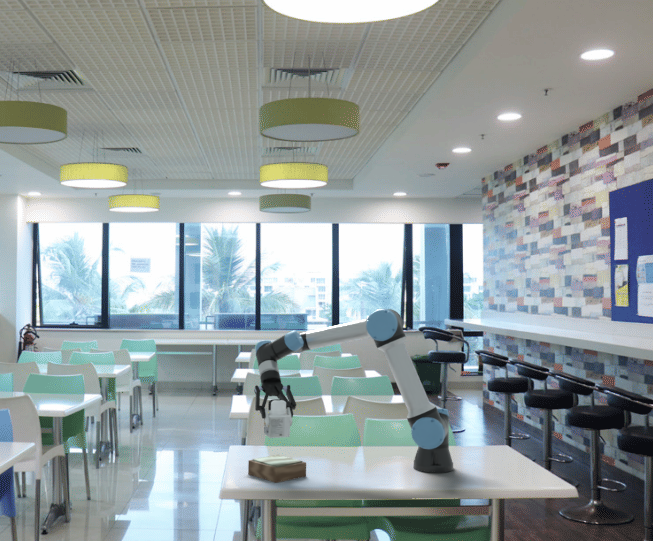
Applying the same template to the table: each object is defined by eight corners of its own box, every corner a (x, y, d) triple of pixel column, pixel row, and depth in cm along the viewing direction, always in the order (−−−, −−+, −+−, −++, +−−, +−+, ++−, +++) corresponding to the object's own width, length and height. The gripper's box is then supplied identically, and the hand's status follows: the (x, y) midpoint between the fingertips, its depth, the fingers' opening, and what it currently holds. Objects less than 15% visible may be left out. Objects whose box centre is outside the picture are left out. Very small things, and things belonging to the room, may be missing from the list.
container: (263, 434, 252) (264, 398, 253) (283, 433, 255) (284, 398, 256) (269, 438, 245) (270, 401, 246) (290, 437, 248) (290, 400, 248)
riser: (306, 476, 248) (306, 461, 248) (276, 482, 238) (276, 466, 239) (278, 468, 259) (278, 453, 260) (248, 474, 250) (248, 459, 250)
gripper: (293, 381, 269) (304, 429, 252) (241, 381, 262) (249, 431, 246) (297, 368, 264) (309, 417, 248) (244, 369, 257) (253, 419, 241)
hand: (279, 424), depth 247 cm, fingers closed on container, 8 cm apart
